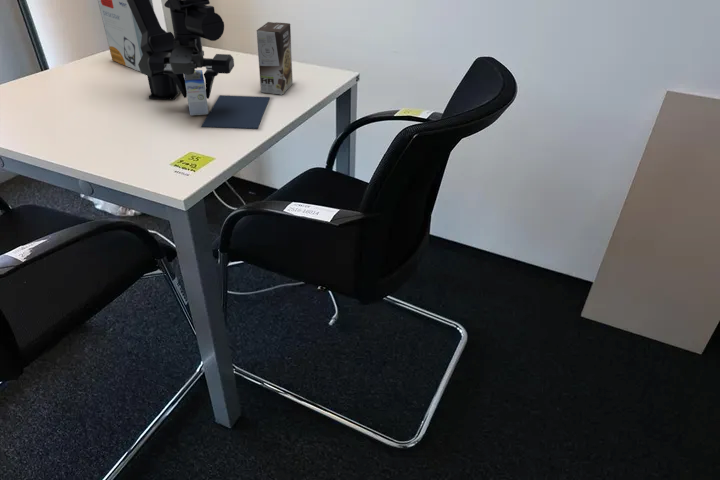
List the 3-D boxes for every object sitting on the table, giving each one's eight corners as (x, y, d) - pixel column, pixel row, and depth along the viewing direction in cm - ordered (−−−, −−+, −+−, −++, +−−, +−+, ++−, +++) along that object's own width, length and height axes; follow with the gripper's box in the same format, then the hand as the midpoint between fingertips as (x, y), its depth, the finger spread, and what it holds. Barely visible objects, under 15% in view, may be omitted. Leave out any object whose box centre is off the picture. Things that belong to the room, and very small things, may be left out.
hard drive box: (111, 61, 159) (93, -12, 147) (133, 55, 164) (118, -16, 152) (142, 73, 151) (126, -3, 140) (165, 66, 156) (152, -7, 145)
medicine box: (188, 105, 134) (183, 70, 130) (206, 103, 136) (202, 69, 131) (190, 116, 128) (184, 79, 123) (209, 114, 129) (204, 78, 125)
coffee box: (283, 95, 142) (280, 32, 132) (260, 92, 143) (255, 29, 133) (293, 83, 149) (291, 22, 139) (271, 81, 150) (267, 20, 140)
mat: (201, 127, 124) (201, 125, 124) (219, 96, 140) (219, 95, 140) (257, 129, 124) (257, 127, 124) (269, 98, 140) (269, 97, 140)
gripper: (132, 39, 114) (147, 109, 124) (220, 43, 115) (228, 112, 124) (149, 25, 123) (162, 91, 133) (231, 29, 123) (237, 94, 133)
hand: (196, 97), depth 130 cm, fingers closed on medicine box, 5 cm apart
